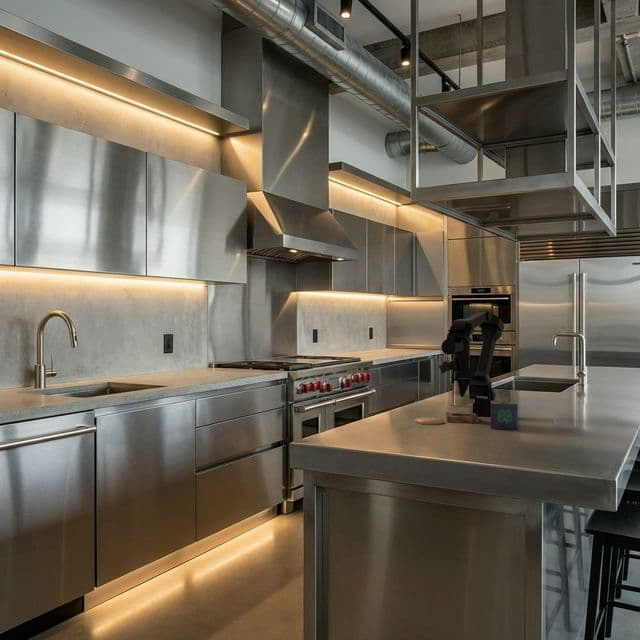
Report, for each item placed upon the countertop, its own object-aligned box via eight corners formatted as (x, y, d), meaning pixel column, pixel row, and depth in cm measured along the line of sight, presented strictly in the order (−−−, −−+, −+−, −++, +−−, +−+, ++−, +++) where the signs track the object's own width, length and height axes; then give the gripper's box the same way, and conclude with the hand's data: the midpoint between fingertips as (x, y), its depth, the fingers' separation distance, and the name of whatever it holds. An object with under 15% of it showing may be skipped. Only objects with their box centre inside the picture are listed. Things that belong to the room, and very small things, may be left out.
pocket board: (475, 418, 235) (475, 413, 235) (478, 423, 224) (478, 417, 224) (445, 417, 237) (445, 412, 237) (447, 422, 226) (447, 416, 226)
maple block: (467, 405, 232) (468, 380, 232) (468, 406, 228) (469, 381, 228) (454, 404, 233) (454, 380, 233) (454, 406, 229) (455, 381, 229)
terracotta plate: (442, 420, 230) (442, 417, 230) (444, 425, 220) (444, 422, 220) (415, 419, 231) (415, 417, 231) (415, 424, 221) (415, 421, 221)
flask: (516, 428, 214) (516, 397, 214) (518, 430, 211) (519, 398, 211) (489, 428, 215) (489, 397, 215) (491, 429, 212) (491, 398, 212)
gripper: (438, 352, 241) (438, 392, 241) (441, 354, 223) (440, 398, 223) (468, 352, 239) (467, 393, 239) (473, 355, 221) (472, 399, 221)
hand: (461, 395), depth 231 cm, fingers closed on maple block, 4 cm apart
